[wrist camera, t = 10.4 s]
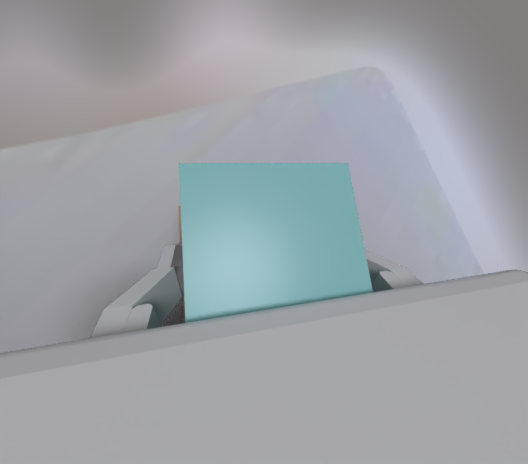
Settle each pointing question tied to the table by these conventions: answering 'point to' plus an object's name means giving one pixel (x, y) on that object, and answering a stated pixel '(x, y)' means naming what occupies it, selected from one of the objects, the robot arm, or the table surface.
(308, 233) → the teal rectangular block
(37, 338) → the table surface
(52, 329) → the table surface
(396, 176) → the table surface
